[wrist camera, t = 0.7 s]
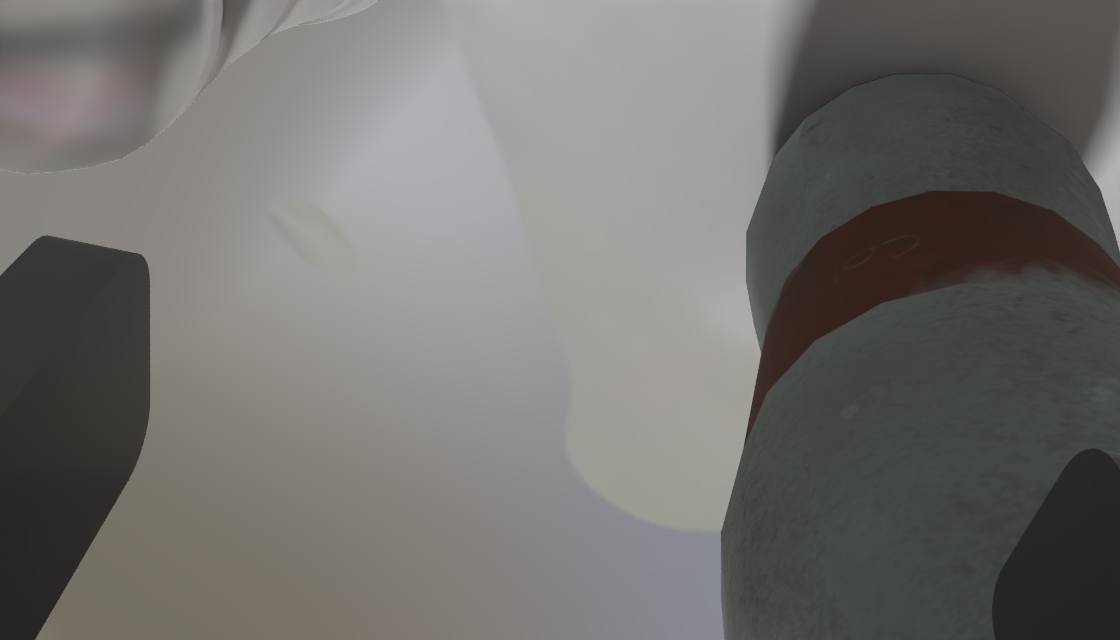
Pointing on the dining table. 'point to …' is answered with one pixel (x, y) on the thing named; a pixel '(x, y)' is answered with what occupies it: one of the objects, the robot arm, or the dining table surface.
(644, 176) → the dining table surface
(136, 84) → the plastic bottle
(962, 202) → the vodka
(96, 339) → the robot arm
